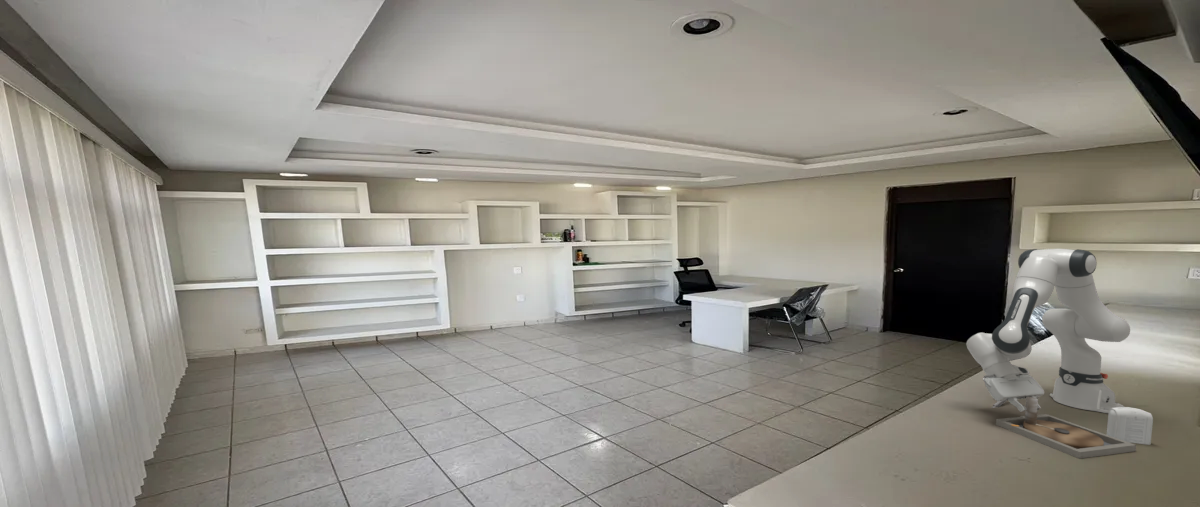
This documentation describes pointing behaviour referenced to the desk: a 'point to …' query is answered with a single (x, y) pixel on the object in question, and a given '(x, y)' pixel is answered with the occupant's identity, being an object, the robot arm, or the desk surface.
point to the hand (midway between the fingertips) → (1030, 410)
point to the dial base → (1110, 444)
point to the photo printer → (1130, 425)
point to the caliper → (998, 404)
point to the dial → (1058, 429)
